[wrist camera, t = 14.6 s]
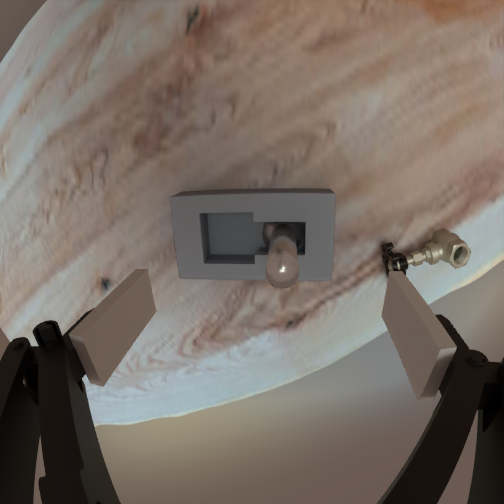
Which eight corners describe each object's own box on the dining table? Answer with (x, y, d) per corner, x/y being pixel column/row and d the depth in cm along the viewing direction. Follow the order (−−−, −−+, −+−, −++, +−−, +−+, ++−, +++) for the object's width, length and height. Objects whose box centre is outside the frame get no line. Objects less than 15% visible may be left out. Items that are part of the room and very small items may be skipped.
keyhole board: (189, 266, 43) (179, 278, 39) (181, 191, 40) (169, 197, 35) (327, 267, 41) (331, 280, 37) (330, 188, 37) (335, 193, 33)
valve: (448, 216, 36) (378, 237, 38) (471, 228, 30) (392, 253, 32) (452, 256, 38) (385, 278, 40) (472, 273, 32) (399, 299, 34)
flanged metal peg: (255, 232, 39) (240, 274, 26) (281, 203, 37) (280, 232, 25) (284, 257, 40) (283, 309, 27) (311, 230, 38) (323, 271, 26)
